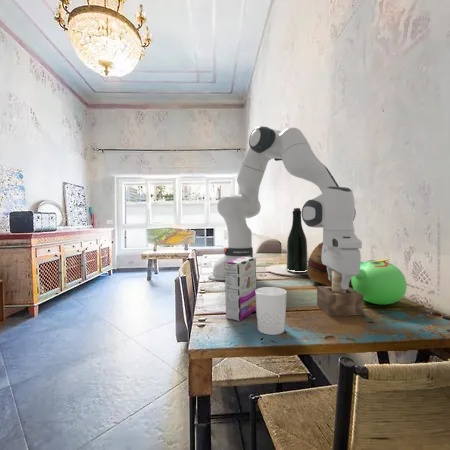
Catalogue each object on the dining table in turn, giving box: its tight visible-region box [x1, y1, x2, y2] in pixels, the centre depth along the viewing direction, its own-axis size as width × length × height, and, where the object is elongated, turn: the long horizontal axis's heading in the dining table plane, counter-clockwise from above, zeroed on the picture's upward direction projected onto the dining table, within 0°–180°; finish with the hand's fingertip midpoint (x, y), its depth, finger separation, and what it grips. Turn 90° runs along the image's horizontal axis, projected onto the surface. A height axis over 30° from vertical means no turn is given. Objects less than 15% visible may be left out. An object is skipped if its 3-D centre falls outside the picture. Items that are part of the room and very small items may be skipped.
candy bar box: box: [224, 256, 257, 322], centre depth 80 cm, size 11×5×16 cm, turn 148°
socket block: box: [316, 285, 364, 317], centre depth 83 cm, size 10×10×6 cm
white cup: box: [255, 286, 288, 336], centre depth 69 cm, size 8×8×10 cm
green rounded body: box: [351, 258, 408, 306], centre depth 90 cm, size 18×17×15 cm
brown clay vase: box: [307, 241, 352, 286], centre depth 115 cm, size 20×20×30 cm
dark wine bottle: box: [286, 207, 308, 271], centre depth 141 cm, size 10×10×33 cm
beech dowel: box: [332, 270, 346, 293], centre depth 83 cm, size 4×4×12 cm
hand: (337, 284), depth 83 cm, fingers open, 8 cm apart
